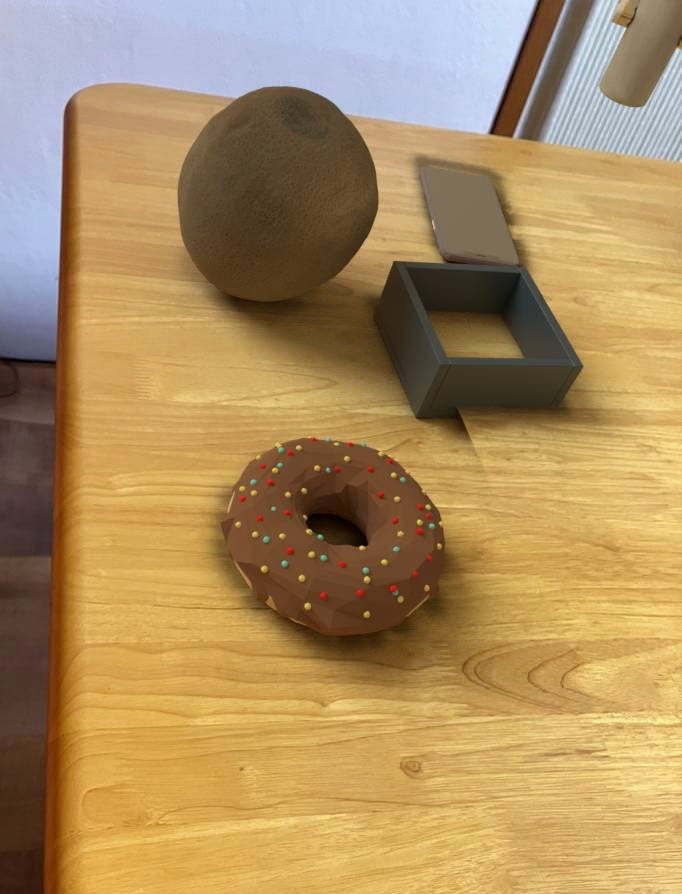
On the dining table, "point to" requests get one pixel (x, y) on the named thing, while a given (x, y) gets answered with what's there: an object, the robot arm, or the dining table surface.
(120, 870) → the dining table surface
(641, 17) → the beige hollow cylinder
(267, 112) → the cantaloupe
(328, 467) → the donut
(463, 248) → the smartphone
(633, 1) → the robot arm
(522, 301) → the bin
